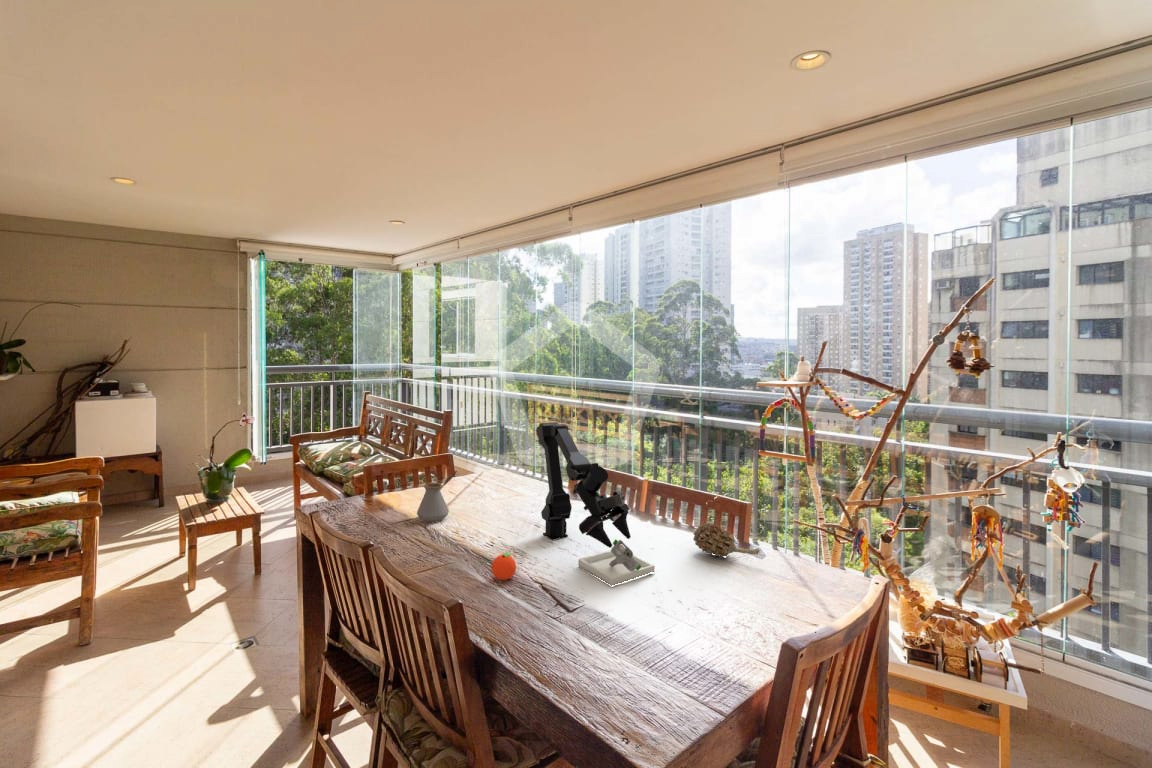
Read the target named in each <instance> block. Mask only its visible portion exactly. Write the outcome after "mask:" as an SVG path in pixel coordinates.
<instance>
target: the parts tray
mask: <svg viewBox="0 0 1152 768" xmlns="http://www.w3.org/2000/svg"><path fill="white" fill-rule="evenodd" d="M633 558H634V560H635V561H636V562H638V561H639V562H640V565H641V568H640V569H639V570H637V569H635V570H633V571H629V570H628V569H627V568H626V567H625V566H624V565H623V564H617V565H615V566H613V567H611V566H610V565H609V564H610V563H611V561H613V560H614V559H616V556H615V555H614V554H613V553H612V552H611V549H610V550H607V551H602V552H598V553H595V554H592V555H587V556H584V557H581V558H578V563H577V566H579V567H580V569H581V568H582V569H581V570H583V569H584V570H585V571H584V570H583V571H584V572H586V571H587V572H589V573H590V574H589V573H588V574H589V575H591V574H592V575H594V576H596V577H598V578H600V579H601V580H603V581H605V582H606V583H608V584H610V585H611V586H612V585H615V584H618V583H622V582H624V581H628V580H630V579H634V578H636V577H639V576H642V575H645V574H648V573H650V572H654V573H655V564H652V563H650V562H649V561H646V560H645V559H642V558H641V557H638V556H637V555H635V554H633ZM579 567H578V568H579ZM587 572H586V573H587ZM592 575H591V576H592ZM594 576H593V577H594ZM596 577H595V578H596Z"/></svg>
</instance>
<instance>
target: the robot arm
mask: <svg viewBox="0 0 1152 768" xmlns="http://www.w3.org/2000/svg"><path fill="white" fill-rule="evenodd" d="M535 432H536V436H537V439H538V443H539V444H540V445H541V447H542V448H543V449H544V457H545V458H544V459H545V466H546V474H547V480H548V481H547V483H548V493H547V495H546V498H545V505H544V507H543V508H542V510H541V513H540V514H541V518H542V520H544V521H545V532H543V533H542V535H543V536H545V537H546V536H547V537H546V538H548V539H550V540H551V539H552V540H551V541H554V539H556V540H559V538H560V539H563V537H564V538H567V537H569V535H568V534H567V521H566V520H567V519H570V518H571V513H572V509H573V508H572V507H573V506H572V503H571V497H570V494H569V493H567V492H566V490H565V489H564V486H563V485H564V484H563V477H562V469H561V468H562V467H561V461H560V460H561V459H560V451H561V453H562V455H563V456H564V459H565V461H566V466H565V469H566V470H565V471H566V474H567V477H568V478H569V479H570V481H572V482H575V481H579V482H578V483H575V484H574V485H573V491H572V492H573V495H576V494H578V496H579V498H580V500H581V501H582V502H583V504H584V505H585V506H584V507H583V509H584V511H587V510H588V512H589V513H590V515H588V516H586V518H584V520H582V522H580V523H579V524H578V525H579V526H578V529H579V531H580V532H581V534H582V535H584V534H585V535H586V536H589V537H591V538H593V539H594V540H596V541H598V542H599V543H601V544H603V545H604V546H606V547H608V548H609V549H612V548H613V544H612V543H613V542H611V540H610V538H609V536H608V533H606V531H605V529H604V522H605V521H608V520H609V521H611V522H612V523H611V524H612V525H613V526H614V527H615V528H616V529H617V530H618V531H619V532H620V533H621V534H622V535H623V536H624V537H625V538H626V539H627V540H629V539H631V533H630V530H629V527H628V526H629V525H628V522H627V516H628V514H629V511H630V507H629V505H628V504H627V503H625V502H623V501H624V500H625V495H624V494H623V493H622V491H621V490H617V491H613V492H612V495H611V496H608V497H607V495H606V494H605V493H602V494H601V492H600V491H599V490H600V489H601V488H603V486H604V484H605V483H606V482H607V480H608V478H609V473H608V471H607V470H606V469H605V468H604V467H603V466H600V465H599V462H592V463H591V461H590V460H589V459H588V457H587V456H584V455H583V454H582V453H581V452H580V450H579V449H578V447H577V445H576V443H575V442H574V439H573V437H572V435H571V433H570V432H569V427H568V425H567V424H565V423H559V422H557V421H554V422H540V423H539V425H538V426H537V427H536V431H535ZM559 448H560V451H559Z"/></svg>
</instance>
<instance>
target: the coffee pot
mask: <svg viewBox="0 0 1152 768" xmlns="http://www.w3.org/2000/svg"><path fill="white" fill-rule="evenodd" d="M457 474H460V472H459V471H457V470H455V471H453V472H452V473H451V475H449V476H448V477H447V478H446V480H445V481H444V482H443V484H441V483H438V482H431V483H426V484H424V485H423V488H424V489H425V492H424V493H423V497H422V500H421V502H420V504H419V506H418V509H417V512H416V515H417V516H418V518H419V519H420V520H421V521H422V522H424V521H426V522H425V523H428V522H435V523H437V522H436V521H440V520H442V519H443V520H444V519H445V518H447V516H448V514H449V512H450V510H449V508H448V505H447V502H446V501H445V498H444V496H443V494H442V492H441V490H442V489H443V488H444V487H445V486H446V485H447V484H448V483H450V481H451V480H452V479H453V477H455V475H456V476H457ZM443 520H442V521H443ZM440 522H441V521H440Z"/></svg>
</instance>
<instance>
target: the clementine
mask: <svg viewBox="0 0 1152 768" xmlns="http://www.w3.org/2000/svg"><path fill="white" fill-rule="evenodd" d="M512 556H513V557H514V558H513V557H512ZM515 558H516V556H515V555H514V554H512V553H505V554H499V555H498V556H496V557H495V558H494V559H493V561H492V564H491V571H492V575H493V576H494V577H495V578H496V579H498V580H500V581H506V580H509V579H511V578H512V577H513V576H514V575H515V573H516V569H517V564H516V563H517V562H516V559H515Z"/></svg>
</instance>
